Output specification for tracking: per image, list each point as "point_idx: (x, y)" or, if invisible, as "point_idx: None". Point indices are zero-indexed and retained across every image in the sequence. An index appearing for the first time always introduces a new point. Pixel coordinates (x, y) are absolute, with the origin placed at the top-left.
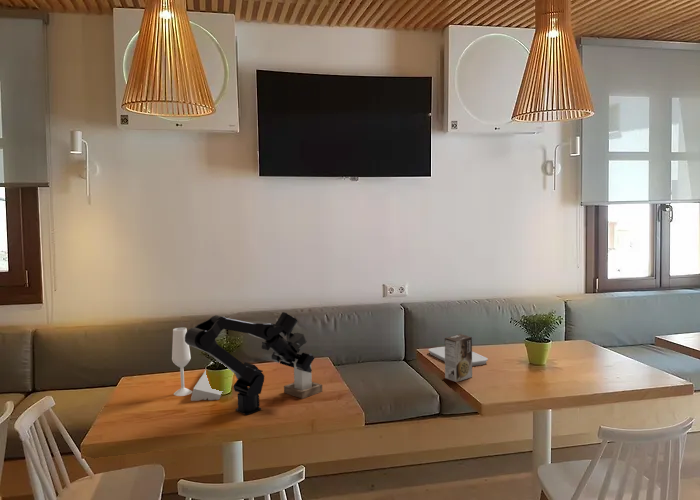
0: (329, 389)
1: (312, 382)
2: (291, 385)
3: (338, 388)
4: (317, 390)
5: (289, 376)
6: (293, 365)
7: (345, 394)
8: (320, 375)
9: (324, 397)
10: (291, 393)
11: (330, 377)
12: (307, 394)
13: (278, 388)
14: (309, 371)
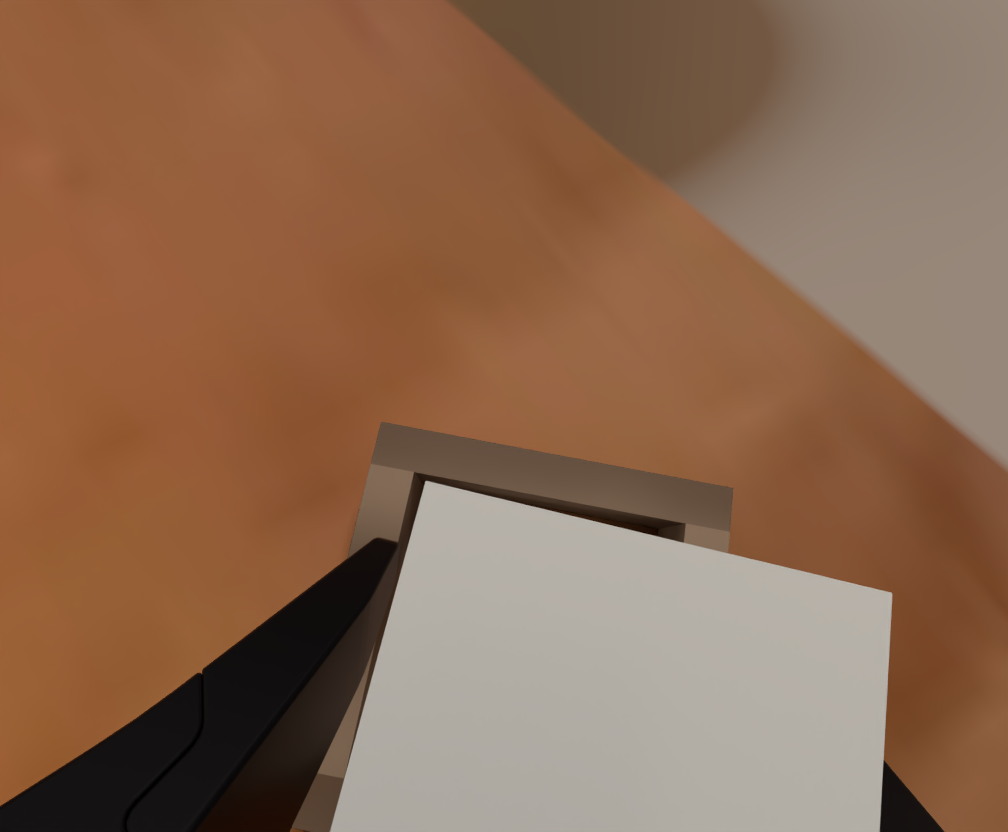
0: (721, 405)
1: (564, 475)
2: (359, 710)
3: (780, 335)
4: None
5: (52, 263)
6: (292, 800)
7: (965, 453)
8: (365, 101)
9: None
10: None
11: (496, 108)
12: None
13: (148, 682)
14: None
